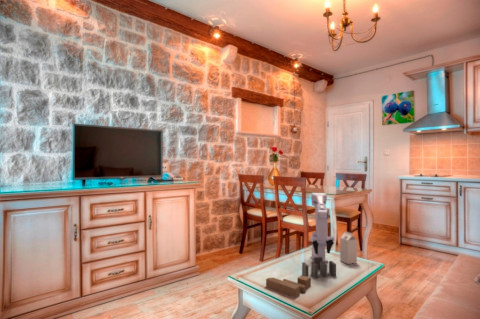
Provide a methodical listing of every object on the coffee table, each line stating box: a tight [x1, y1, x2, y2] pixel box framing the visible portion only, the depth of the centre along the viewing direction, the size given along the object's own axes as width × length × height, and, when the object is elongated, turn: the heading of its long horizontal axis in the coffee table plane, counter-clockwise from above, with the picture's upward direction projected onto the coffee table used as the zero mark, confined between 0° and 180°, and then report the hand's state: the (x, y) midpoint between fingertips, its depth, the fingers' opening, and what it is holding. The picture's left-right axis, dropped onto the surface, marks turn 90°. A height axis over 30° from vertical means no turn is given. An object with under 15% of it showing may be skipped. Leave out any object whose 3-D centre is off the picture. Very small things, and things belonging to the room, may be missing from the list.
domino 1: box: [301, 262, 309, 277], centre depth 149 cm, size 2×5×7 cm, turn 10°
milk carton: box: [339, 231, 358, 265], centre depth 172 cm, size 7×7×19 cm
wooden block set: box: [265, 275, 312, 299], centre depth 137 cm, size 17×6×18 cm
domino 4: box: [319, 261, 328, 278], centre depth 150 cm, size 2×5×7 cm, turn 10°
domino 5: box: [328, 260, 337, 278], centre depth 151 cm, size 2×5×7 cm, turn 10°
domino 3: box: [310, 261, 319, 279], centre depth 150 cm, size 2×5×7 cm, turn 10°
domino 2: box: [312, 257, 322, 271], centre depth 159 cm, size 2×5×7 cm, turn 100°
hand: (322, 253), depth 157 cm, fingers open, 7 cm apart
